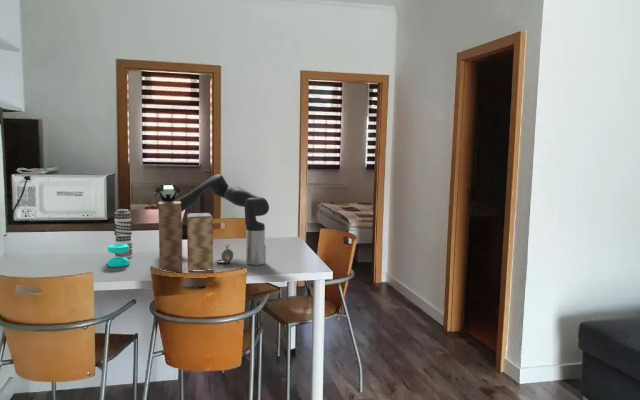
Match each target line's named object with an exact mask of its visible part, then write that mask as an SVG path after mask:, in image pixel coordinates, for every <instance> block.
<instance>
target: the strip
mask: <svg viewBox="0 0 640 400" xmlns="http://www.w3.org/2000/svg"><path fill="white" fill-rule="evenodd" d="M163 191H164V194H174V188H173V184H171V185H170V184H169V185H165V184H164V186H163Z"/></svg>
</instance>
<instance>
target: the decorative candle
mask: <svg viewBox="0 0 640 400" xmlns="http://www.w3.org/2000/svg"><path fill="white" fill-rule="evenodd" d="M132 221H133V219H132V217H131V211H130V210H129V209H125V208H120V209H116V210H115V212H114V223H113V228H114V230H113V232H114V233H113V234H114V237H115V240H114V241H115V243H114V244H126V245H128V246H129V250H128V251H127V252H125V253H121V254H114V255H115V257H114V258H116V257H125V258H127V259H129V258H132V257H133V249H132V248H133V246H132V245H133V243H132V235H133V233H132V231H133V229H132V228H133V225H132V224H133V222H132Z"/></svg>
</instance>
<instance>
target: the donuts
mask: <svg viewBox="0 0 640 400" xmlns="http://www.w3.org/2000/svg"><path fill="white" fill-rule="evenodd" d="M106 250H107V251H108V253H110V254H114V255H115V254H121V253H125V252H127V251H128V250H129V246H128V245H126V244H116V243H114V244H110V245H108V246H107V248H106ZM130 264H131V261H130V259H129V258H125V257H116V258H115V257H113V258H110V259H109V260H108V261H107V266H109V267H111V268H123V267H127V266H128V265H130Z"/></svg>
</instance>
